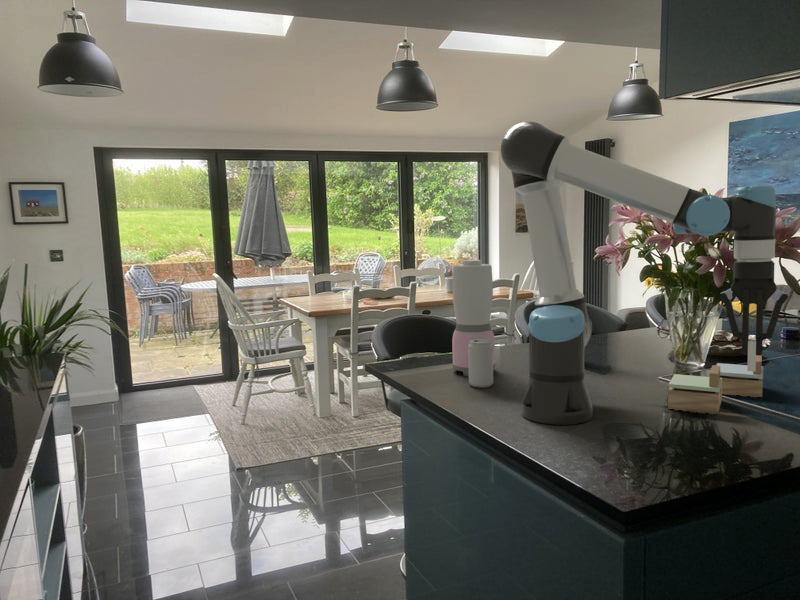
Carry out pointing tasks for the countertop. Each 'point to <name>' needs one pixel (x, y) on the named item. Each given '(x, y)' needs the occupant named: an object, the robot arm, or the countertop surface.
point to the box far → (742, 386)
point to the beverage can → (480, 363)
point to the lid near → (698, 381)
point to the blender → (471, 309)
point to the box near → (694, 400)
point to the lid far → (742, 370)
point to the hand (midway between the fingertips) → (751, 369)
